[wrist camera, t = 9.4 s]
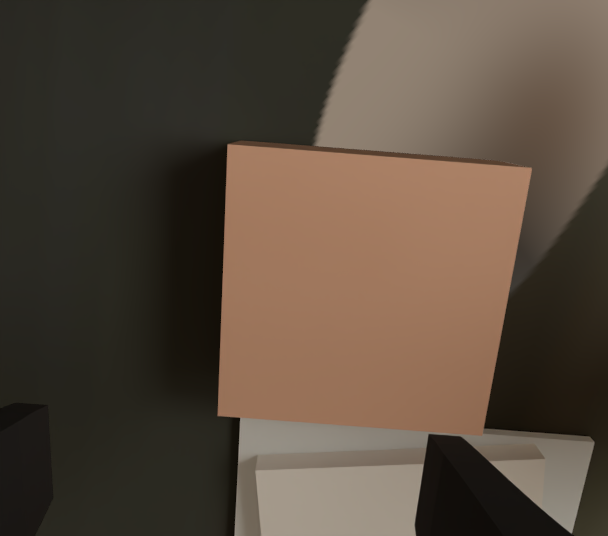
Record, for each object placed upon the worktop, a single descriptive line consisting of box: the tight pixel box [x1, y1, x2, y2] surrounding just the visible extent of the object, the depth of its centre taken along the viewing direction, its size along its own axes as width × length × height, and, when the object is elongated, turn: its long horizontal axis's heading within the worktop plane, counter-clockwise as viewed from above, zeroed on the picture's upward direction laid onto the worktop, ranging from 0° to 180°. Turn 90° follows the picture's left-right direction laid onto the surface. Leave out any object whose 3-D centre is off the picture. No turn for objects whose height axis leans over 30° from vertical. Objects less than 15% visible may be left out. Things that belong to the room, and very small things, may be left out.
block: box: [218, 140, 532, 436], centre depth 18 cm, size 9×9×3 cm
